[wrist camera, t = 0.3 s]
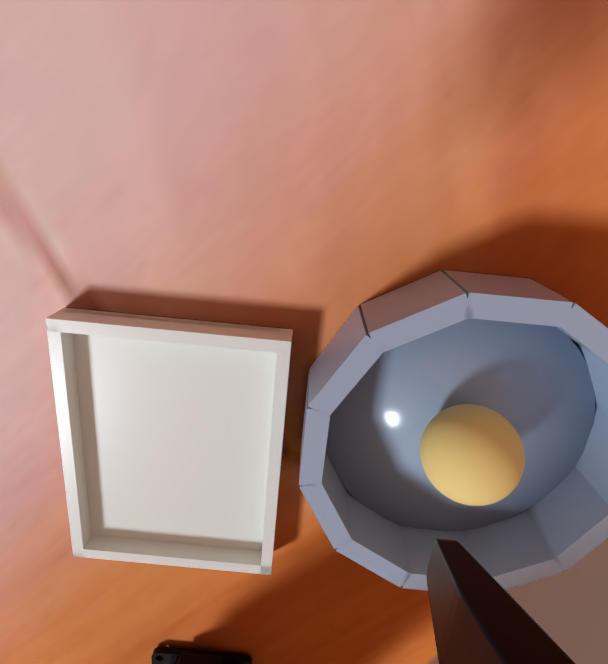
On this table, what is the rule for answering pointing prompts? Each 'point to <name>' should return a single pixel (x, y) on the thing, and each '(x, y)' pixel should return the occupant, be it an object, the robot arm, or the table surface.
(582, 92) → the table surface
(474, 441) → the ball
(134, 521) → the tray
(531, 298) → the bowl
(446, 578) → the robot arm
